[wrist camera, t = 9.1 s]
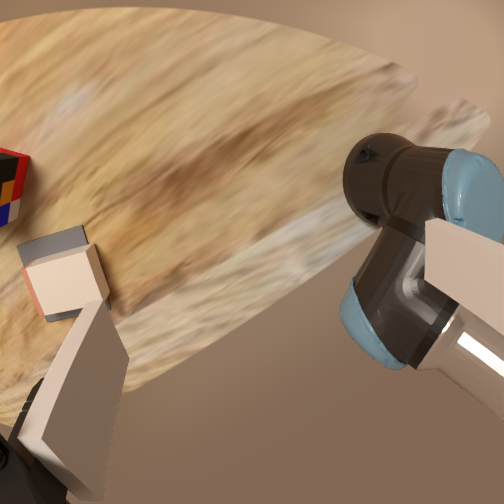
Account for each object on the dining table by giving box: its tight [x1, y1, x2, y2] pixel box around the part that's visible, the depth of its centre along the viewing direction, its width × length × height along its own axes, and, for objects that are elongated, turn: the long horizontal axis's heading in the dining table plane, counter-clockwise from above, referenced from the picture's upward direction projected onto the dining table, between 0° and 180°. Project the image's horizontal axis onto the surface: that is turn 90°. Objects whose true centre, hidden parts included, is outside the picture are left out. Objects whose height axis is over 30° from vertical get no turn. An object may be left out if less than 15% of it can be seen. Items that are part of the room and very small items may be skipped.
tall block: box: [21, 243, 110, 317], centre depth 42 cm, size 4×8×12 cm
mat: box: [17, 225, 111, 322], centre depth 44 cm, size 13×14×1 cm
